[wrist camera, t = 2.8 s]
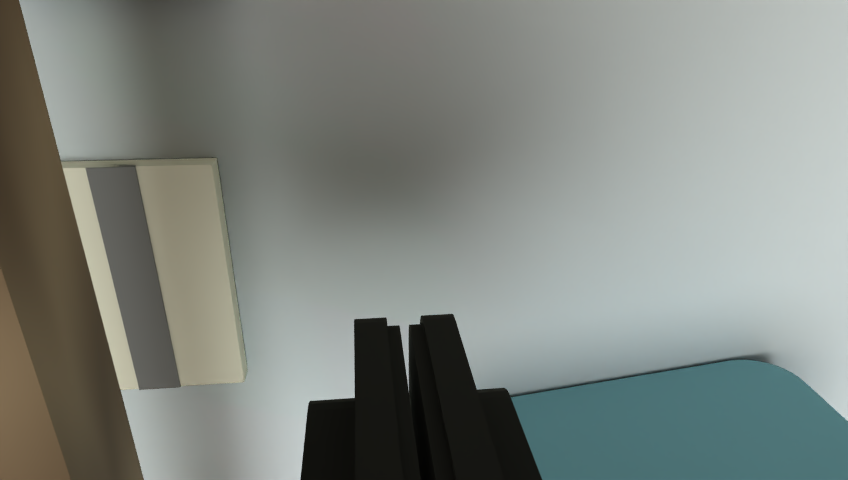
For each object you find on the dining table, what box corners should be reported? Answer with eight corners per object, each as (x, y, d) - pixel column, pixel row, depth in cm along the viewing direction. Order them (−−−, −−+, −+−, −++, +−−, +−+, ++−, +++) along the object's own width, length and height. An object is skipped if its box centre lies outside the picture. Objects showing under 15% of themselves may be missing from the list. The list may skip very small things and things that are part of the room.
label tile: (18, 162, 15) (5, 170, 15) (216, 157, 16) (211, 165, 15) (82, 380, 18) (73, 393, 18) (247, 370, 19) (244, 382, 18)
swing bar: (-385, -442, 6) (-820, -683, 4) (0, -416, 6) (-188, -622, 4) (97, 740, 15) (53, 872, 13) (244, 722, 15) (225, 848, 13)
